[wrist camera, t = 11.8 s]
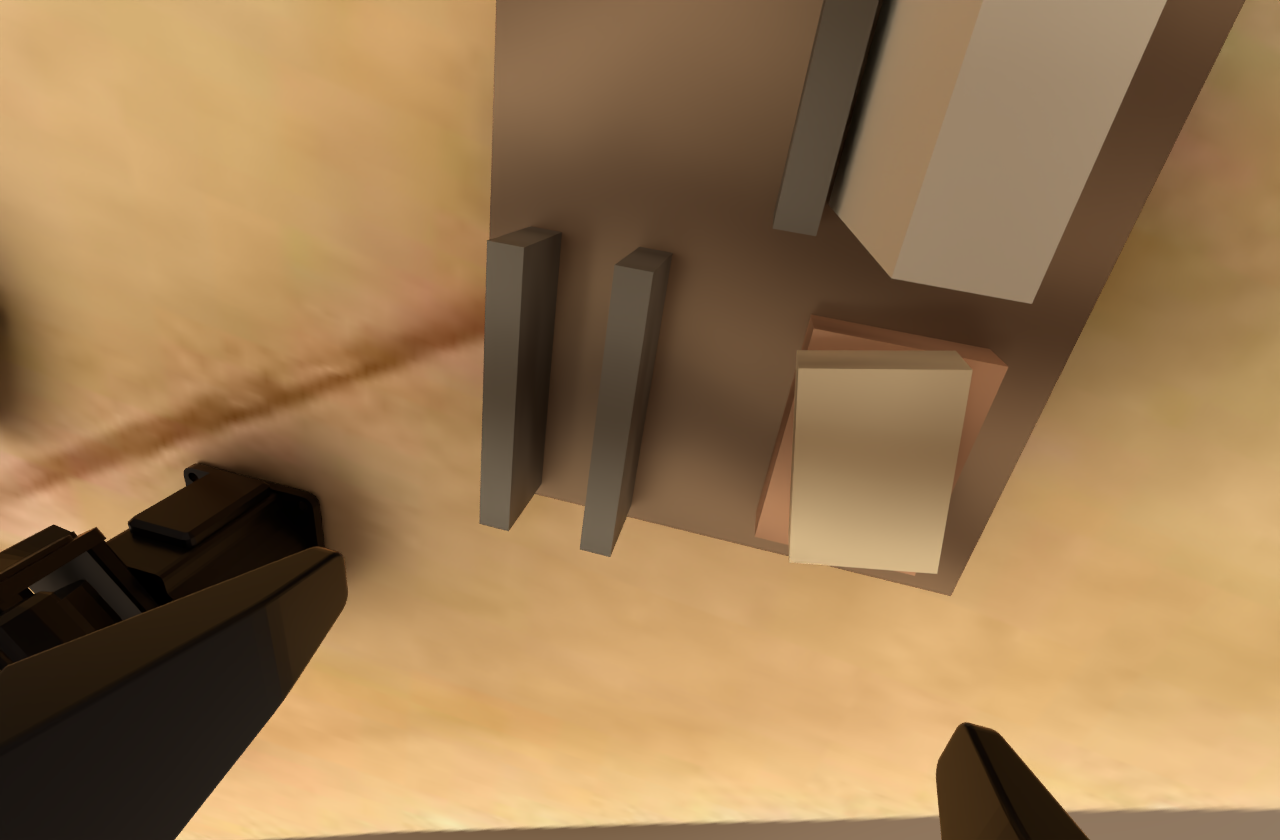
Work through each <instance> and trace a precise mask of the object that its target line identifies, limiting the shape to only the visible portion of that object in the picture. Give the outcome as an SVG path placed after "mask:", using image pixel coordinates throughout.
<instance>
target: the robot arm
mask: <svg viewBox="0 0 1280 840" xmlns="http://www.w3.org/2000/svg"><path fill="white" fill-rule="evenodd" d="M184 478H185V482H186V487H184V488H183V489H181V490H179V491H177V492H176V493H174V494H172V495H170V496H169V497H167V498H165V499H163V500H162V501H160V502H158V503H157V504H155V505H153V506H151V507H150V508H148V509H146V510H144V511H143V512H141V513H139V514H137V515H136V516H134V517H133V518H132V519H131V520H130V521H128V526H129V529H127V530H126V531H124V532H122V533H120V534H119V535H117V536H115V537H114V538H112V539H110V540H109V541H107V542H105V541H104V540H105V539H106V537H105V536H104V535H103V534H102V533H101V532H100V530H99V529H98V528H97V527H95V528H93V529H91V530H89V531H87V532H84V533H82V534H80V535H78V536H77V535H76V534H75V533H74V531H73V532H70V531H68V530H65V529H63V528H61V527H59V526H56V525H52V526H50V527H48V528H46V529H44V530H42V531H40V532H38V533H36V534H34V535H32V536H30V537H28V538H27V539H25V540H23V541H21V542H19V543H17V544H15V545H13V546H11V547H9V548H7V549H6V550H4V551H2V552H0V840H175V839H176V837H177V836H178V835H179V833H180V832H181V831H182V830H183V828H184V827H185V826H186V825H187V823H188V822H189V821H190V819H191V818H192V817H193V816H194V814H195V813H196V812H197V811H198V809H199V808H200V807H201V806H202V804H203V803H204V802H205V800H206V799H207V798H208V797H209V795H210V794H211V793H212V792H213V790H214V789H215V788H216V786H217V785H218V784H219V783H220V781H221V780H222V779H223V778H224V776H225V775H226V774H227V772H228V771H229V770H230V769H231V767H232V766H233V765H234V764H235V762H236V761H237V760H238V758H239V757H240V756H241V755H242V753H243V752H244V751H245V750H246V748H247V747H248V746H249V745H250V743H251V742H252V741H253V739H254V738H255V737H256V736H257V734H258V733H259V732H260V731H261V729H262V728H263V727H264V725H265V724H266V723H267V722H268V720H269V719H270V718H271V717H272V715H273V714H274V713H275V711H276V710H277V709H278V707H279V706H280V705H281V703H282V702H283V701H284V699H285V698H286V696H287V695H288V693H289V692H290V690H291V689H292V688H293V686H294V685H295V683H296V681H297V680H298V678H299V677H300V675H301V674H302V672H303V671H304V669H305V667H306V666H307V664H308V663H309V661H310V660H311V658H312V657H313V655H314V654H315V652H316V650H317V649H318V647H319V646H320V644H321V643H322V641H323V640H324V638H325V637H326V635H327V633H328V632H329V630H330V629H331V627H332V626H333V624H334V623H335V621H336V619H337V618H338V616H339V615H340V613H341V612H342V610H343V608H344V606H345V604H346V601H347V596H348V588H347V578H346V568H345V560H344V557H343V555H342V554H341V553H340V552H337V551H334V550H330V549H326V548H325V547H324V538H323V530H322V521H321V513H320V504H319V501H318V499H317V498H316V496H314V495H313V494H312V493H309V492H306V491H302V490H298V489H295V488H291V487H287V486H283V485H279V484H275V483H271V482H267V481H264V480H260V479H256V478H252V477H248V476H244V475H240V474H236V473H233V472H229V471H225V470H221V469H217V468H213V467H209V466H206V465H202V464H194V465H192V466H190V467H188V468H186V469H185V470H184ZM28 587H29V588H30V589H31V590H32V591H33V592H34V593H35V594H33V593H32V592H31V591H30V590H29V589H28ZM936 784H937V795H938V806H939V818H940V828H941V840H1090V839H1089V838H1088V837H1087V836H1086V835H1085V834H1084V833H1083V831H1082V830H1081V829H1080V828H1079V827H1078V825H1077V824H1076V823H1075V822H1074V821H1073V819H1072V818H1071V817H1070V816H1069V815H1068V813H1067V812H1066V811H1065V810H1064V809H1063V808H1062V806H1061V805H1060V804H1059V803H1058V802H1057V801H1056V799H1055V798H1054V797H1053V796H1052V795H1051V793H1050V792H1049V791H1048V790H1047V789H1046V788H1045V786H1044V785H1043V784H1042V783H1041V782H1040V781H1039V779H1038V778H1037V777H1036V776H1035V775H1034V773H1033V772H1032V771H1031V770H1030V769H1029V768H1028V766H1027V765H1026V764H1025V763H1024V762H1023V761H1022V759H1021V758H1020V757H1019V756H1018V755H1017V753H1016V752H1015V751H1014V750H1013V749H1012V748H1011V746H1010V745H1009V744H1008V743H1007V742H1006V741H1005V739H1004V738H1003V737H1002V736H1001V735H1000V734H999V733H998V732H996V731H995V730H993V729H990V728H986V727H983V726H979V725H975V724H972V723H967V722H964V723H962V724H960V725H959V726H958V727H957V728H956V730H955V732H954V734H953V735H952V737H951V739H950V741H949V742H948V744H947V746H946V747H945V749H944V751H943V753H942V754H941V756H940V758H939V760H938V764H937V769H936Z"/></svg>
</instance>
